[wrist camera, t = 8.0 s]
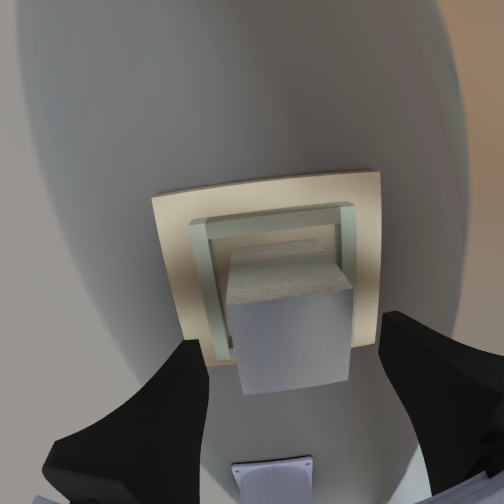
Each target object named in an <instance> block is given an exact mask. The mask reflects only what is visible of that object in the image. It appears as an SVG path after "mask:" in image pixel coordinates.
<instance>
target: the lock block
mask: <svg viewBox="0 0 504 504" xmlns="http://www.w3.org/2000/svg"><path fill="white" fill-rule="evenodd" d="M353 294H354V288H353V287H352V285H351V284H350V283H349V281H348V280H347V278H346V277H345V276H344V274H343V273H342V271H341V270H340V269H339V267H338V266H337V264H336V263H335V262H334V260H333V259H332V258H331V256H330V255H329V254H328V252H327V251H326V249H325V248H324V247H323V245H322V244H321V243H320V241H319V240H318V239H317V238H311V239H303V240H294V241H286V242H277V243H269V244H261V245H253V246H244V247H236V248H232V249H231V258H230V268H229V278H228V287H227V297H226V309H227V315H228V320H229V326H230V331H231V336H232V342H233V347H234V352H235V357H236V362H237V367H238V372H239V377H240V382H241V387H242V392H243V395H251V394H261V393H270V392H278V391H286V390H293V389H300V388H307V387H313V386H319V385H325V384H330V383H336V382H341V381H346V380H348V373H349V362H350V350H351V336H352V319H353Z"/></svg>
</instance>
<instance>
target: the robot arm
mask: <svg viewBox="0 0 504 504" xmlns="http://www.w3.org/2000/svg"><path fill="white" fill-rule="evenodd" d="M378 354H379V357H380V360H381V362H382V365H383V368H384V370H385V373H386V375H387V376H388V378H389V380H390V382H391V384H392V386H393V387H394V389H395V391H396V393H397V395H398V396H399V398H400V400H401V402H402V404H403V405H404V407H405V409H406V411H407V413H408V415H409V417H410V419H411V422H412V424H413V427H414V430H415V432H416V435H417V438H418V441H419V444H420V447H421V450H422V454H423V457H424V461H425V465H426V469H427V473H428V477H429V482H430V488H431V494H432V497H430V498H428V499H425V500H423V501H420V502H418V503H415V504H504V356H501V355H497V354H492V353H488V352H485V351H482V350H478V349H475V348H473V347H470V346H467V345H464V344H462V343H459V342H457V341H455V340H453V339H450V338H448V337H446V336H444V335H442V334H440V333H438V332H436V331H434V330H432V329H430V328H429V327H427V326H425V325H423V324H421V323H419V322H418V321H416V320H414V319H412V318H410V317H409V316H407V315H405V314H403V313H401V312H399V311H391V312H387V313H383V317H382V326H381V335H380V343H379V351H378ZM208 400H209V375H208V372H207V368H206V365H205V361H204V357H203V354H202V350H201V346H200V342H199V339H191V340H183V341H182V342H181V343H180V345H179V346H178V347H177V348H176V349H175V351H174V352H173V353H172V354H171V356H170V357H169V358H168V359H167V361H166V362H165V363H164V364H163V365H162V367H161V368H160V369H159V370H158V371H157V372H156V374H155V375H154V376H153V377H152V378H151V379H150V380H149V381H148V382H147V383H146V384H145V385H144V386H143V387H142V388H141V389H140V390H139V391H138V392H137V393H136V394H135V395H134V396H132V397H131V398H130V399H129V400H128V401H126V402H125V403H124V404H123V405H121V406H120V407H119V408H117V409H116V410H114V411H113V412H111V413H110V414H108V415H107V416H106V417H104V418H103V419H101V420H99V421H97V422H96V423H94V424H92V425H91V426H89V427H87V428H85V429H83V430H81V431H79V432H76V433H74V434H72V435H69V436H67V437H65V438H62V439H60V440H57V441H55V442H54V444H53V446H52V448H51V450H50V452H49V455H48V457H47V459H46V461H45V463H44V465H43V468H42V473H43V475H44V477H45V478H46V480H47V481H48V482H49V483H50V484H51V485H52V486H53V487H54V488H55V489H56V490H58V491H59V492H60V493H61V494H62V495H63V496H64V497H66V498H67V499H68V500H69V501H70V504H200V496H199V491H200V490H199V488H200V487H199V486H200V484H199V483H200V481H199V480H200V478H199V476H200V452H201V443H202V437H203V431H204V425H205V419H206V413H207V407H208ZM312 468H313V459H312V457H303V458H296V459H289V460H281V461H272V462H262V463H249V464H234V465H232V466H231V470H232V472H233V475H234V477H235V480H236V482H237V485H238V487H239V489H240V496H241V504H313V499H312V494H311V485H312ZM32 504H59V503H57V502H54V501H51V500H48V499H46V498H43V497H40V496H35V497H34V500H33V502H32Z"/></svg>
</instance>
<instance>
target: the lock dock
mask: <svg viewBox="0 0 504 504" xmlns="http://www.w3.org/2000/svg"><path fill="white" fill-rule="evenodd" d="M151 199H152V204H153V210H154V215H155V220H156V225H157V230H158V234H159V239H160V244H161V248H162V253H163V257H164V262H165V266H166V270H167V274H168V279H169V283H170V287H171V291H172V295H173V299H174V302H175V306H176V310H177V314H178V318H179V321H180V325H181V328H182V332H183V336H184V339H185V340H191V339H199V342H200V346H201V350H202V354H203V357H204V361H205V365H206V367H212V366H225V365H236V364H237V362H236V357H235V352H234V347H233V342H232V336H231V331H230V326H229V320H228V315H227V309H226V297H227V287H228V278H229V268H230V258H231V249H232V248H236V247H244V246H253V245H261V244H269V243H277V242H286V241H294V240H303V239H311V238H317V239H318V240H319V241H320V243H321V244H322V245H323V247H324V248H325V249H326V251H327V252H328V254H329V255H330V256H331V258H332V259H333V260H334V262H335V263H336V264H337V266H338V267H339V269H340V270H341V271H342V273H343V274H344V276H345V277H346V278H347V280H348V281H349V283H350V284H351V285H352V287H353V288H354V294H353V319H352V336H351V348H354V347H359V346H364V345H369V344H373V343H375V334H376V324H377V313H378V301H379V286H380V267H381V181H380V171H376V170H354V171H340V172H327V173H315V174H304V175H293V176H284V177H274V178H265V179H257V180H249V181H241V182H233V183H226V184H219V185H212V186H205V187H198V188H192V189H186V190H179V191H173V192H167V193H162V194H157V195H155V196H154V197H152V198H151Z"/></svg>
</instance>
